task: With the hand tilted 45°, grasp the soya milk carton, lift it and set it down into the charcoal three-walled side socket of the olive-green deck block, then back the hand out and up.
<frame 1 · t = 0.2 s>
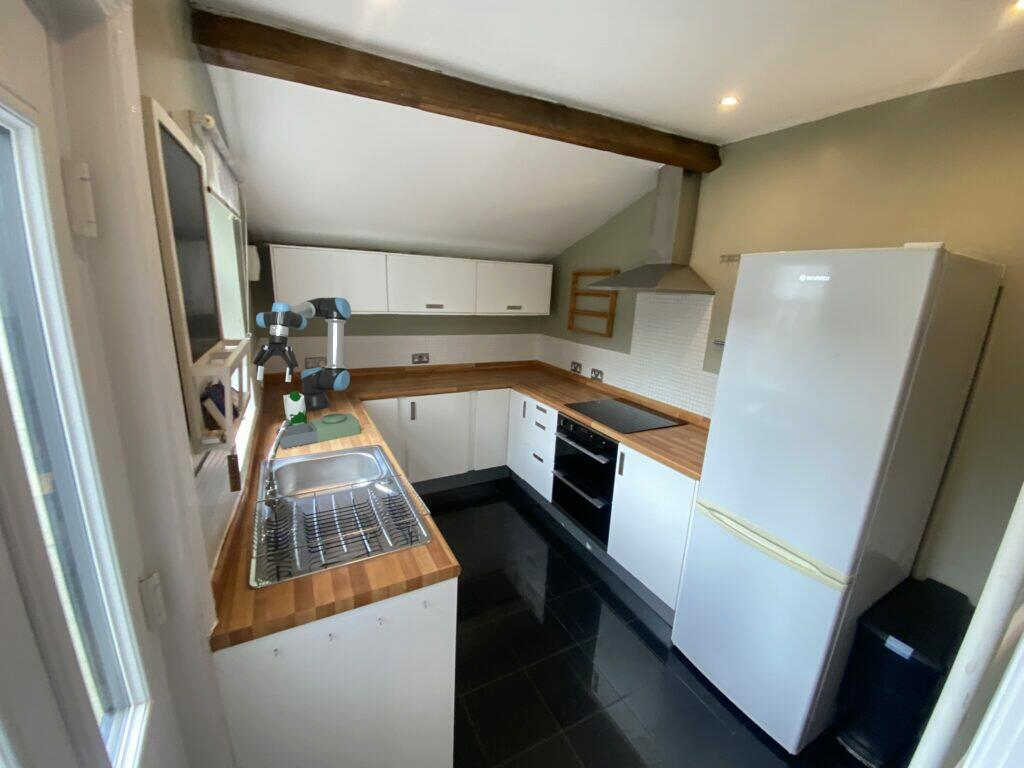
hand: (273, 381, 186), 27 cm above the worktop, tool tilted 20°, fingers open, 13 cm apart
soya milk: (298, 430, 202), on the worktop
side socket deck: (297, 441, 187), on the worktop
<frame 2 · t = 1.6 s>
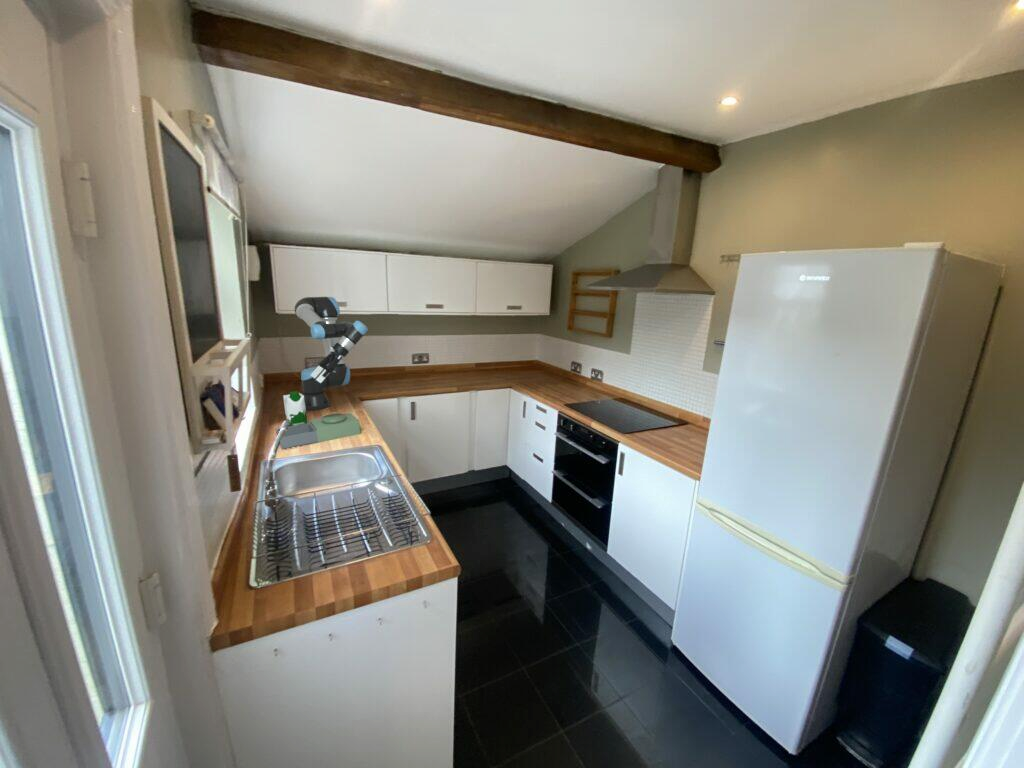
hand: (315, 379, 202), 25 cm above the worktop, tool tilted 45°, fingers open, 13 cm apart
nothing on the worktop moved.
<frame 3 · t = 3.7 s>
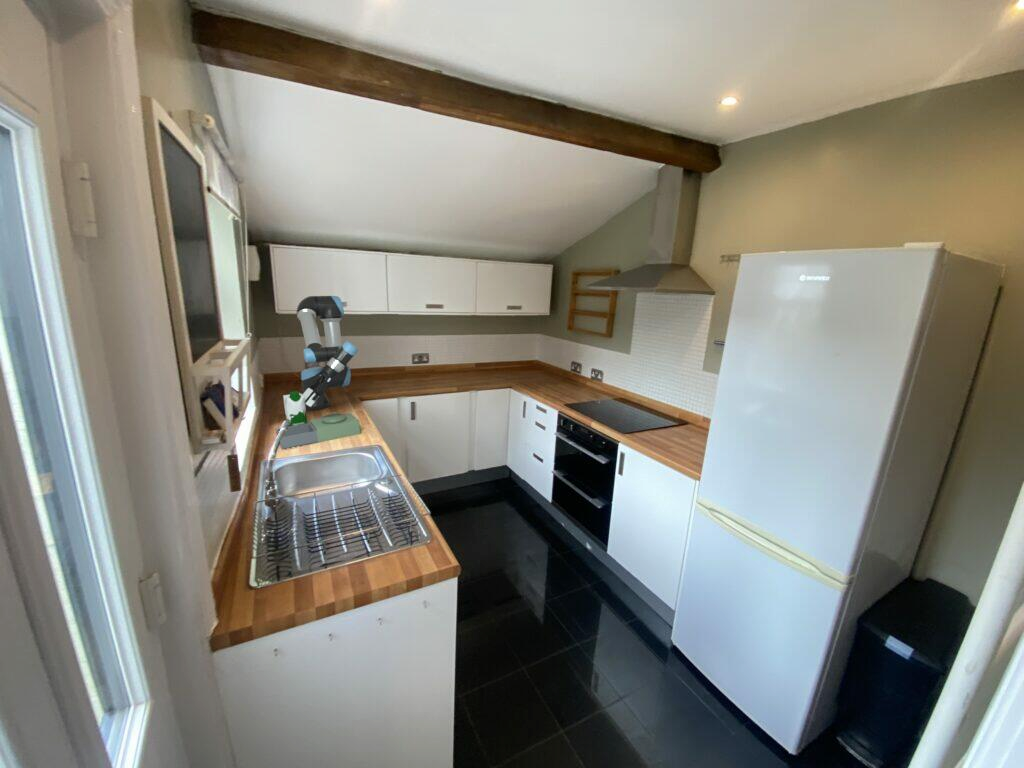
hand: (304, 402, 200), 14 cm above the worktop, tool tilted 45°, fingers open, 13 cm apart
nothing on the worktop moved.
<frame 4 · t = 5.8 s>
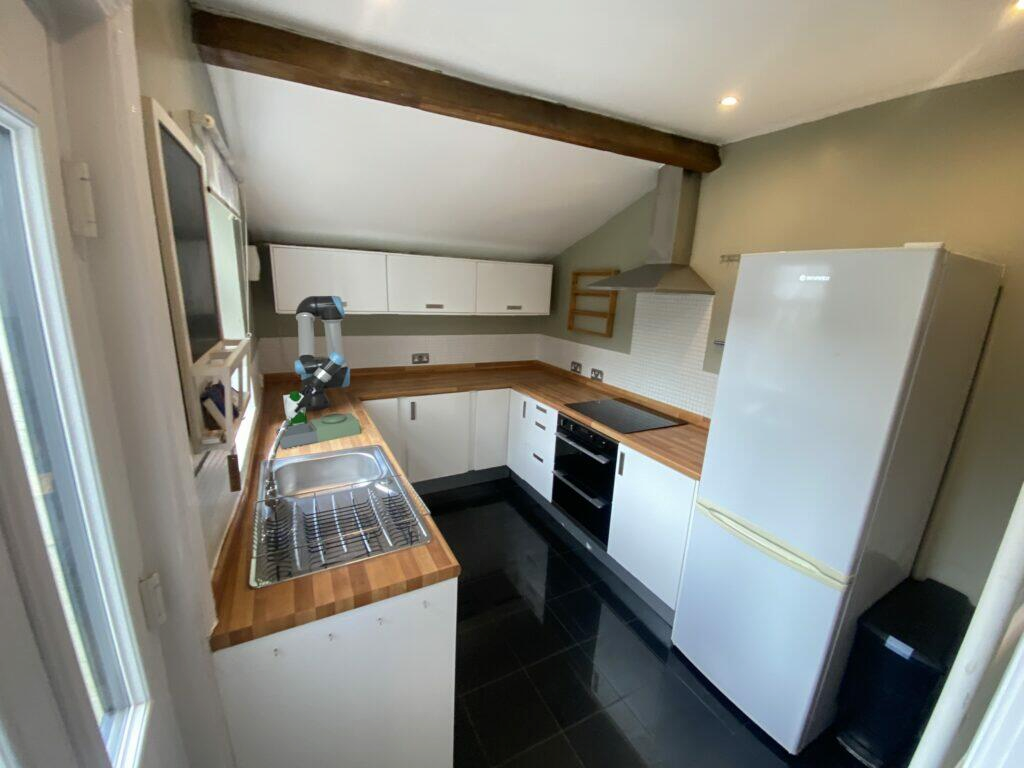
hand: (288, 414, 198), 9 cm above the worktop, tool tilted 45°, fingers closed on soya milk, 9 cm apart
soya milk: (298, 430, 202), on the worktop, touching gripper
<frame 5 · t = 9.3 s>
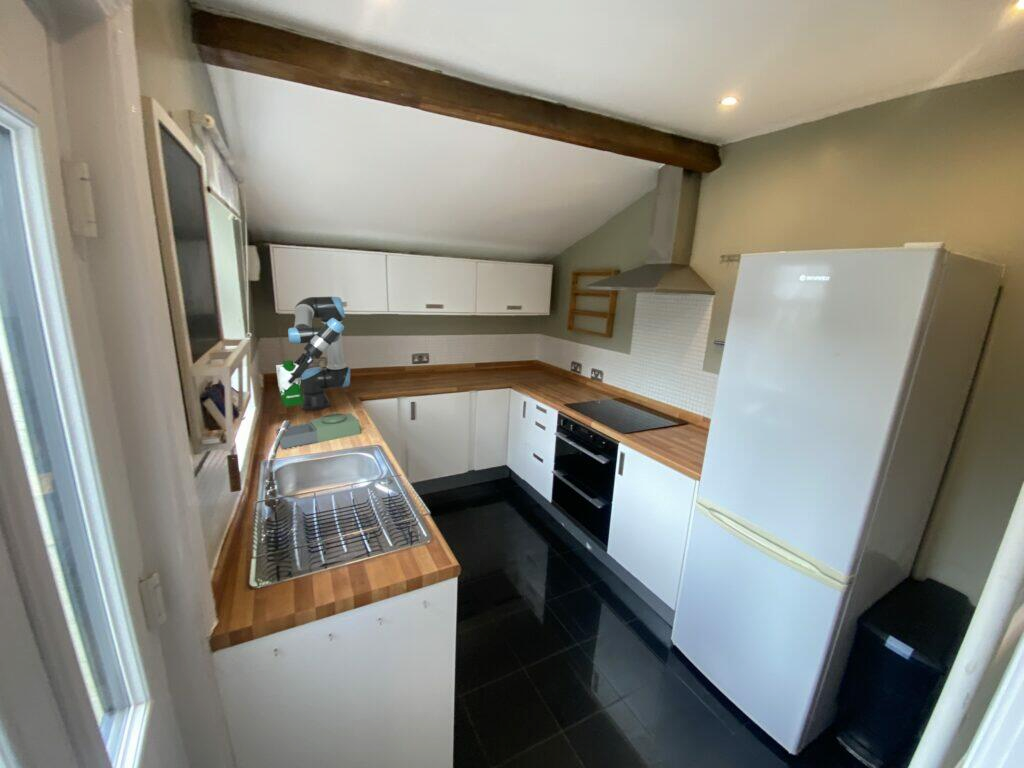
hand: (282, 386, 179), 27 cm above the worktop, tool tilted 45°, fingers closed on soya milk, 9 cm apart
soya milk: (292, 404, 183), point 18 cm above the worktop, touching gripper
when the fingers open (11 cm above the worktop, at t = 12.8 s): soya milk drops 1 cm, resting on side socket deck.
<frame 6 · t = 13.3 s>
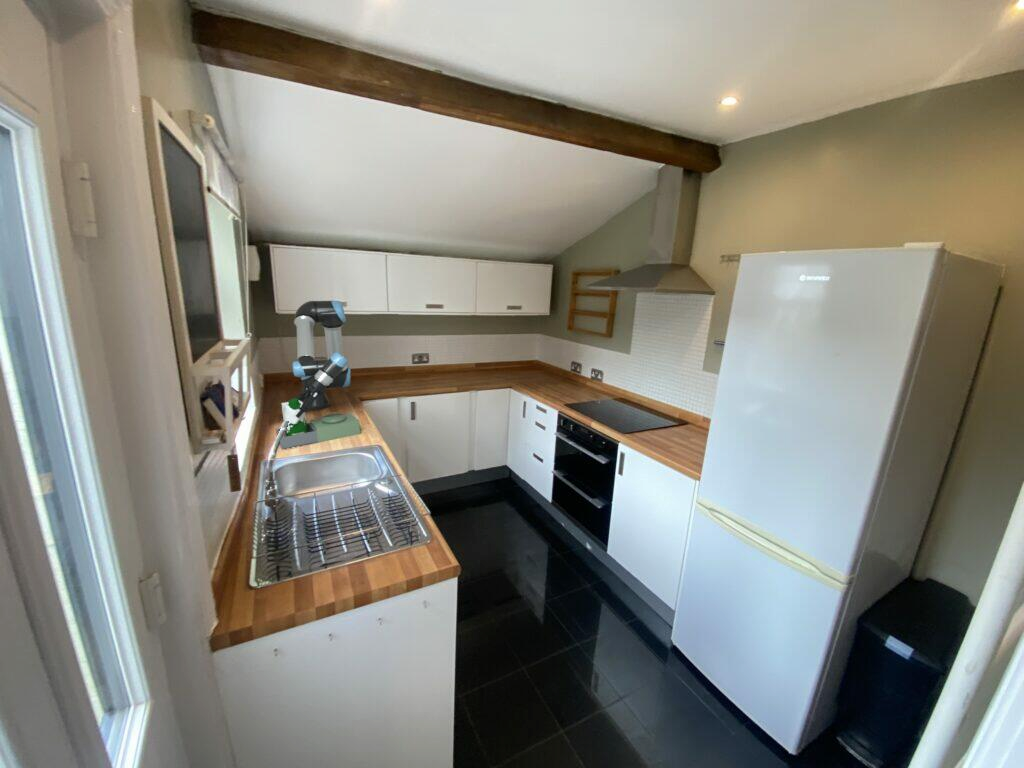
hand: (288, 418, 183), 12 cm above the worktop, tool tilted 45°, fingers open, 13 cm apart
soya milk: (297, 440, 187), resting on side socket deck
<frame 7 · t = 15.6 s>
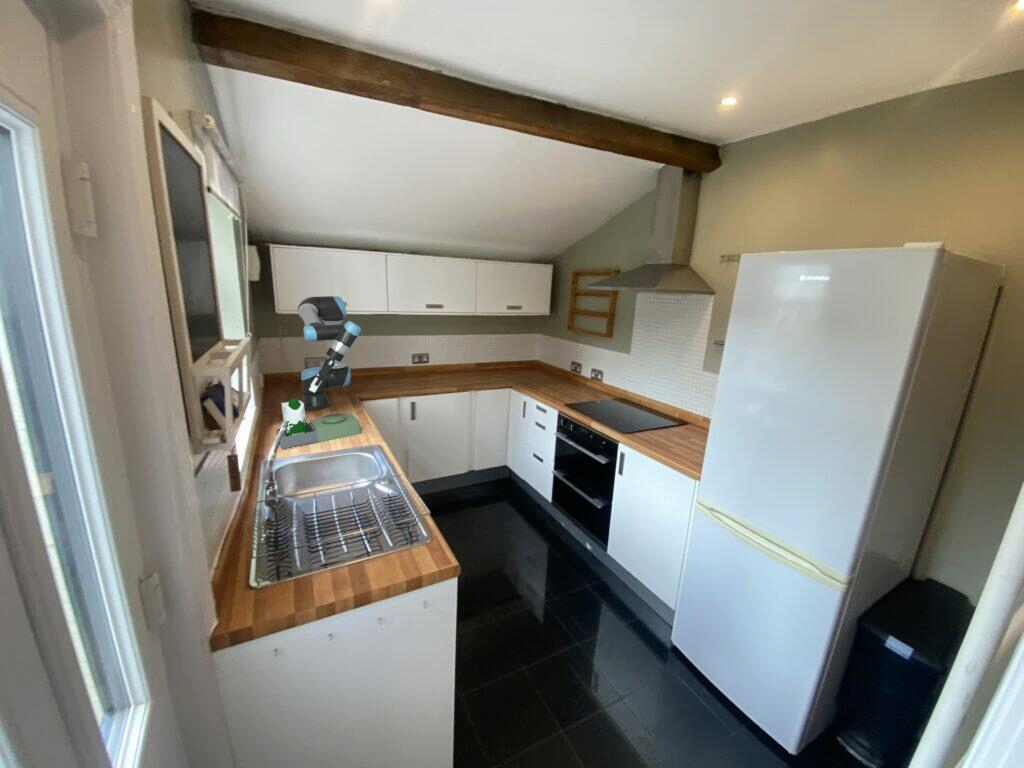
hand: (312, 388, 190), 23 cm above the worktop, tool tilted 35°, fingers open, 13 cm apart
nothing on the worktop moved.
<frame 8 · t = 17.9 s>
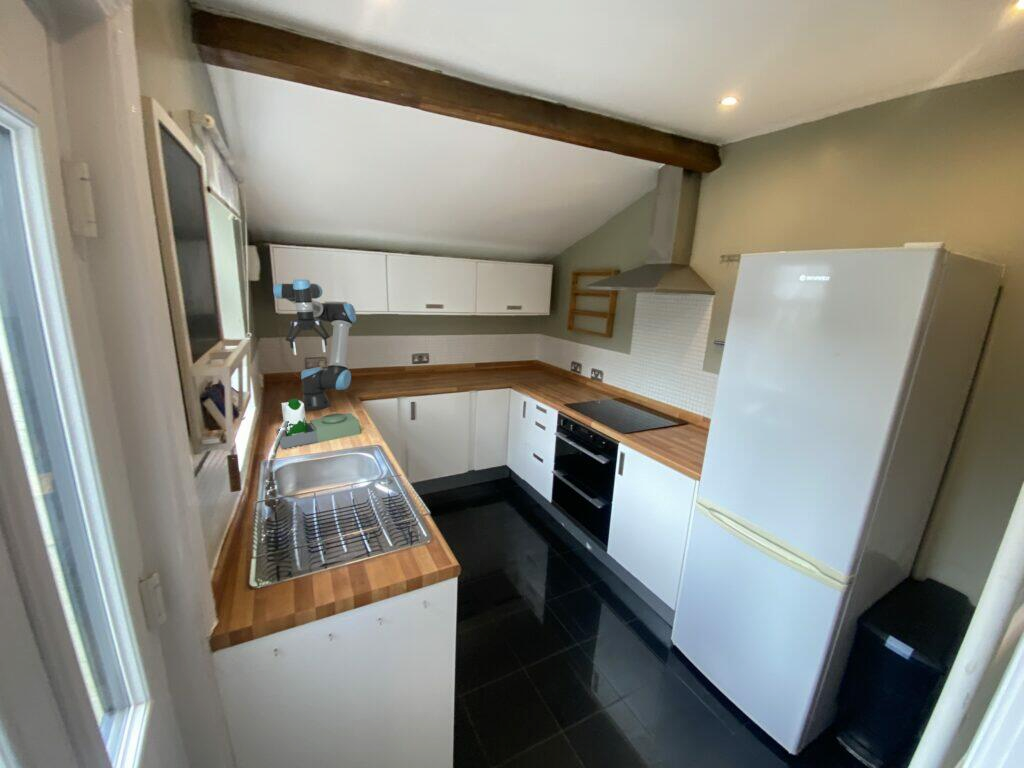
hand: (309, 353, 206), 37 cm above the worktop, tool pointing down, fingers open, 13 cm apart
nothing on the worktop moved.
at the end: soya milk 0.1 cm off-centre on the side socket deck, point 0.4 cm above the side socket deck's base; soya milk tilted 0°; the gripper is holding nothing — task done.
